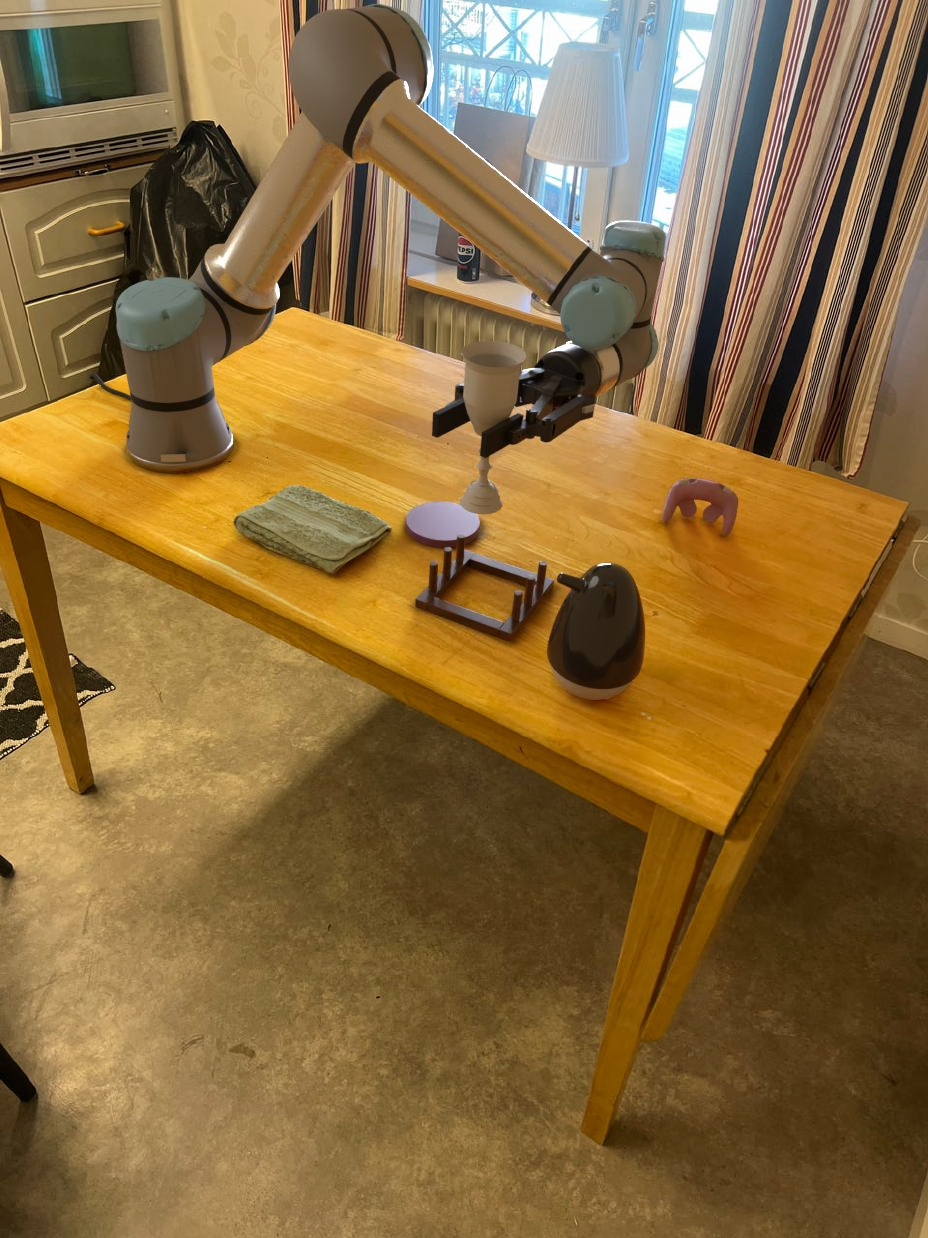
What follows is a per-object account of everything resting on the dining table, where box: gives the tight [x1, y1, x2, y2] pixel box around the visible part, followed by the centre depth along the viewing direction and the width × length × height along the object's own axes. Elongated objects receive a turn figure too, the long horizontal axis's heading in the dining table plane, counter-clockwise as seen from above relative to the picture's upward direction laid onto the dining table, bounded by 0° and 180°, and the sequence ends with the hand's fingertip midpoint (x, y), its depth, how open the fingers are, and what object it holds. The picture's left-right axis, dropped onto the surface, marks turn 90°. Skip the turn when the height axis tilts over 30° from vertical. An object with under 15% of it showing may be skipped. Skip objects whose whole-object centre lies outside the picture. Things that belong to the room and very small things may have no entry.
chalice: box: [459, 340, 527, 516], centre depth 98 cm, size 7×7×18 cm
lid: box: [405, 500, 481, 549], centre depth 120 cm, size 10×10×1 cm
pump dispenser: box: [546, 562, 646, 701], centre depth 92 cm, size 10×10×15 cm
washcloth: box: [232, 484, 393, 575], centre depth 115 cm, size 13×18×3 cm
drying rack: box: [414, 534, 555, 643], centre depth 107 cm, size 13×13×5 cm
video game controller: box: [662, 477, 739, 537], centre depth 124 cm, size 10×5×7 cm, turn 71°
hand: (459, 434), depth 94 cm, fingers closed on chalice, 6 cm apart
